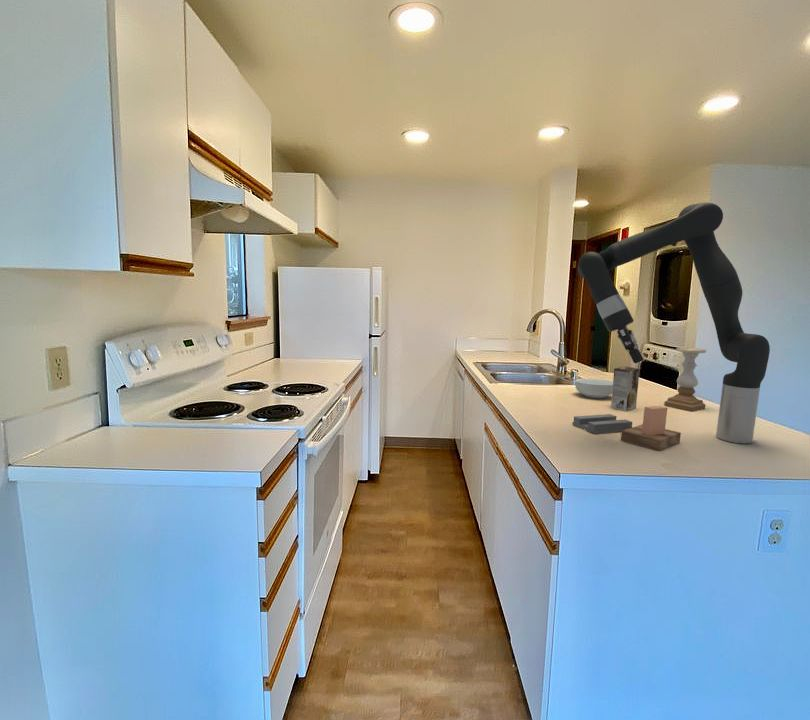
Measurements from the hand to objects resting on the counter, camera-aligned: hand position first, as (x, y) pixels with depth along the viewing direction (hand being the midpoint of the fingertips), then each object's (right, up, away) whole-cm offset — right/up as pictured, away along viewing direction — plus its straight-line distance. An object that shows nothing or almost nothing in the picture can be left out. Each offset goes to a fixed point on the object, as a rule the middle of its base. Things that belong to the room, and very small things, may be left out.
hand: (639, 361), depth 130 cm
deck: (+6, -24, +4) cm, 25 cm away
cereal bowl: (+15, -16, +66) cm, 69 cm away
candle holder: (+45, -19, +50) cm, 69 cm away
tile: (+5, -21, +2) cm, 22 cm away
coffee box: (+18, -19, +46) cm, 52 cm away
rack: (-3, -22, +17) cm, 28 cm away
